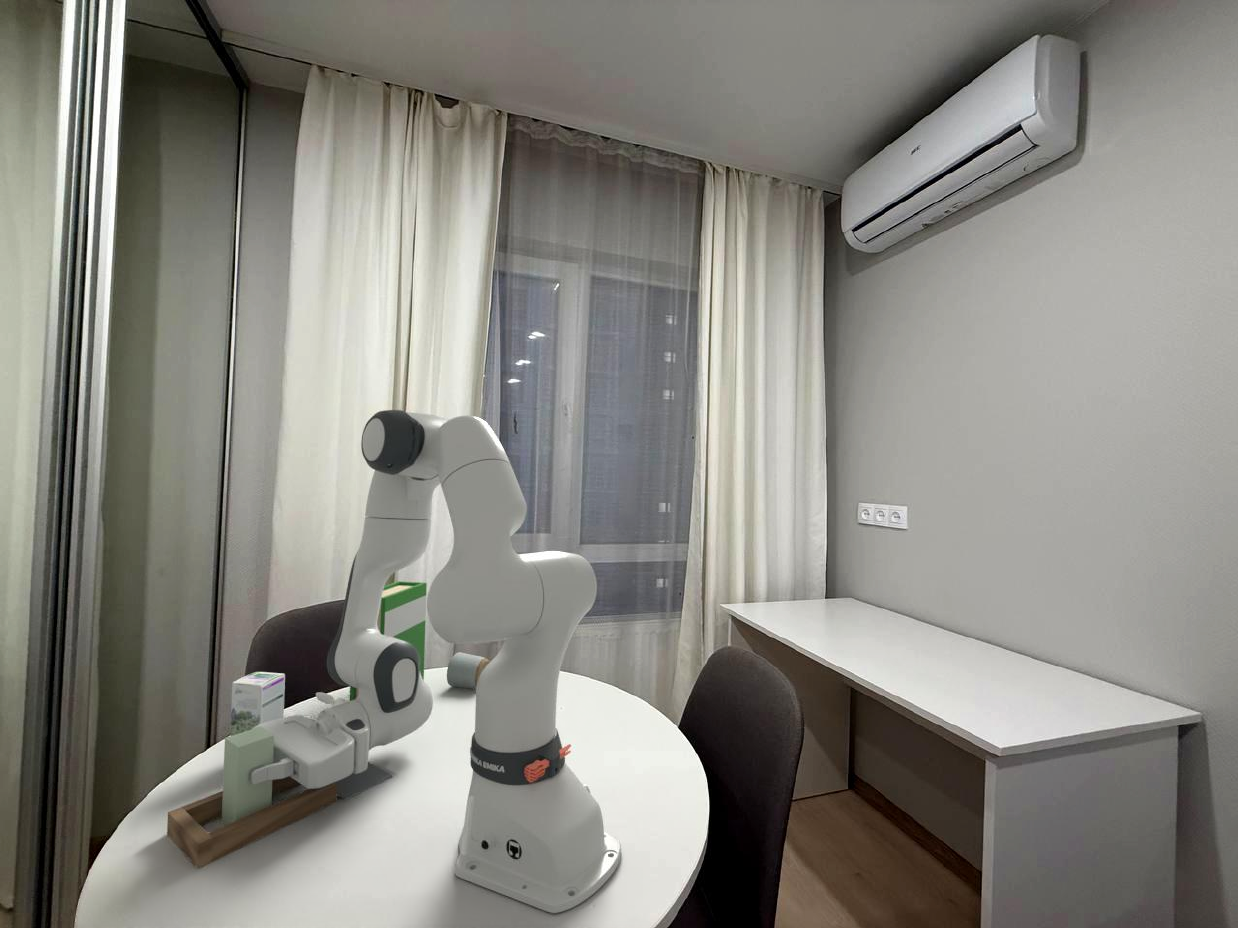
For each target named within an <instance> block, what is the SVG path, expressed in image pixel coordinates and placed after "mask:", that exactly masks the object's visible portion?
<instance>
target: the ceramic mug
mask: <svg viewBox="0 0 1238 928" xmlns="http://www.w3.org/2000/svg"><path fill="white" fill-rule="evenodd" d="M490 662H491V661H490V660H489V659H488V658H486V657H483V656H480V655H473V654H470V653H469V654H468V653H464V652H459V651H458V652H456V653H455V654H453V656H452V657H451V658H450V661H449V663H448V666H447V670H446V681H447V684H448V685H449V686H450V687H453V688H454V687H455V688H461V689H470V690H476V686H477V681H478V679H479V676H480V674H481V672H482V671H483V670H484V668H485V667H486V666H487V665H488V664H489V663H490Z"/></svg>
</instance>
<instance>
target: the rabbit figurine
mask: <svg viewBox="0 0 1238 928" xmlns="http://www.w3.org/2000/svg"><path fill="white" fill-rule="evenodd" d="M315 697H316V698H317V700H318V701H319V702H321V703H324V704H326V705H327V704H332V705H330V707H329V708H331V707H334V706H337V705H340V704H343V703H346V702H348V701H347V700H346V699H345V698H342V697H341V698H336V699H334V697H333V696H332V695H331V694H328V693H325V692H316V693H315Z"/></svg>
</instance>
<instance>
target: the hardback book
mask: <svg viewBox="0 0 1238 928" xmlns="http://www.w3.org/2000/svg"><path fill="white" fill-rule="evenodd" d="M427 585H428V584H427V582H417V581H396V582H392V583H389V584H387V585H386V584H385V586H384V589H383V594H382V599H381V604H380V610H379V615H378V620H377V626H378V630H379V632H380V633H381V634H382V635H385V636H389V637H393V638H397V639H400V640H403V641H406V642H409V643H411V644H412V645H413V646H414V647H415V648H416V649H417V651H418V653H419V656H420V673H421V676H422V679H423V681H424V682H425V680H424V679H425V650H426V649H425V645H426V618H427V617H426V614H427V613H426V611H427V589H428V588H427V587H428V586H427ZM358 693H359V689H357V688H355V687H350V686H349V701H352V700H354V699H356V698H357V696H358Z"/></svg>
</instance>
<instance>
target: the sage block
mask: <svg viewBox="0 0 1238 928" xmlns="http://www.w3.org/2000/svg"><path fill="white" fill-rule="evenodd" d="M273 750H274V735H273V734H271V733H270V732H268V731H267V730H265V729H263V728H262V727H257V728H254V729H251V730H248V731H245V732H242V733H239V734H236V735H233V736H231V735H230V736H227V737H224V751H223V753H224V754H223V757H224V758H223V774H222V775H223V777H222V778H223V779H222V791H223V799H222V817H221V825H222V827H223V826H225V825H228V824H230V823H232V822H235V821H237V820H239V819H241V818H244V817H246V816H248V815H250V814H253V813H255V812H257V811H260V810H262V809H264V808H266V807H269V806H271V805H272V798H273V795H272V780H266V781H263V782H261V783H258V784H255V785H254V784H253V783H251V782H250V781H249V780H248V777H249V771H250V769H252V768H254V767H257V766H259V765H262V764H263V765H265V766H266V765H270V764H273Z"/></svg>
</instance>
